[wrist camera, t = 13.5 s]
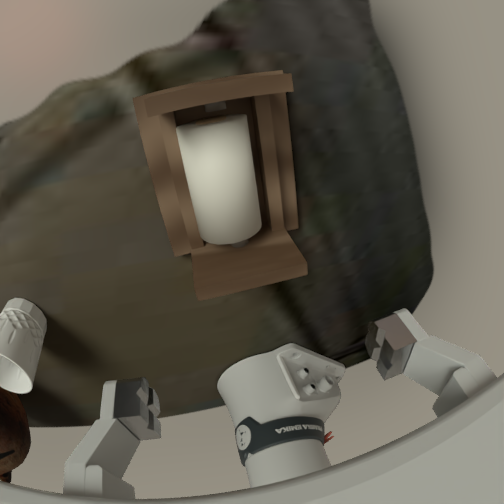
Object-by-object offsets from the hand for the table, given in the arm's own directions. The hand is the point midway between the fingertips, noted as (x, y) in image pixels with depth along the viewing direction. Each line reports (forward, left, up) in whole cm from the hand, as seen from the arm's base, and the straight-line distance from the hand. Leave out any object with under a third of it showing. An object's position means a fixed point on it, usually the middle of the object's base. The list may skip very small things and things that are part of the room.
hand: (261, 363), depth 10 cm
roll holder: (-1, -2, -22) cm, 22 cm away
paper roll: (-1, -2, -20) cm, 20 cm away
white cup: (+15, +26, -22) cm, 38 cm away
